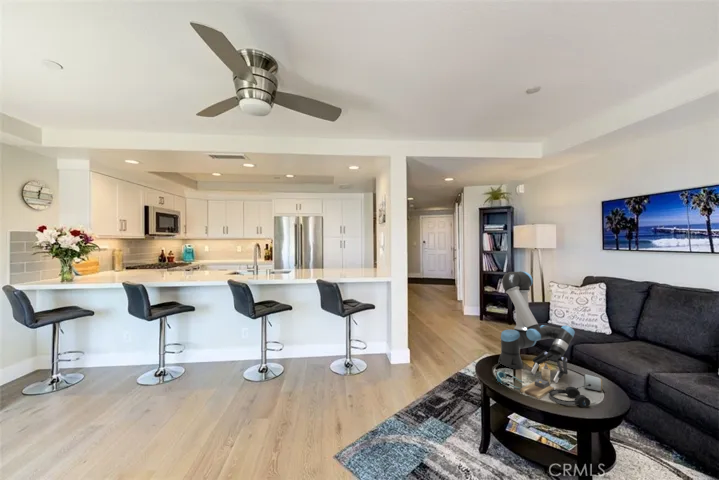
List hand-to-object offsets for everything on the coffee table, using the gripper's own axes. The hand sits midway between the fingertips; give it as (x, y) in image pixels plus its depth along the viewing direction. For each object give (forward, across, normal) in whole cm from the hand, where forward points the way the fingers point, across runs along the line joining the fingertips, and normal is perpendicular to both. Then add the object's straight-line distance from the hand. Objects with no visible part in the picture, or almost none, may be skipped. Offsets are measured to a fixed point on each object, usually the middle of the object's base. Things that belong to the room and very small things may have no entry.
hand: (543, 377), depth 178 cm
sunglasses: (+15, +10, +7) cm, 20 cm away
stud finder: (+6, -2, +1) cm, 6 cm away
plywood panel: (+11, -3, +4) cm, 12 cm away
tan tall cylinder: (+2, 0, -5) cm, 5 cm away
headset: (+7, -18, 0) cm, 19 cm away
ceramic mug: (-12, -14, -19) cm, 27 cm away
